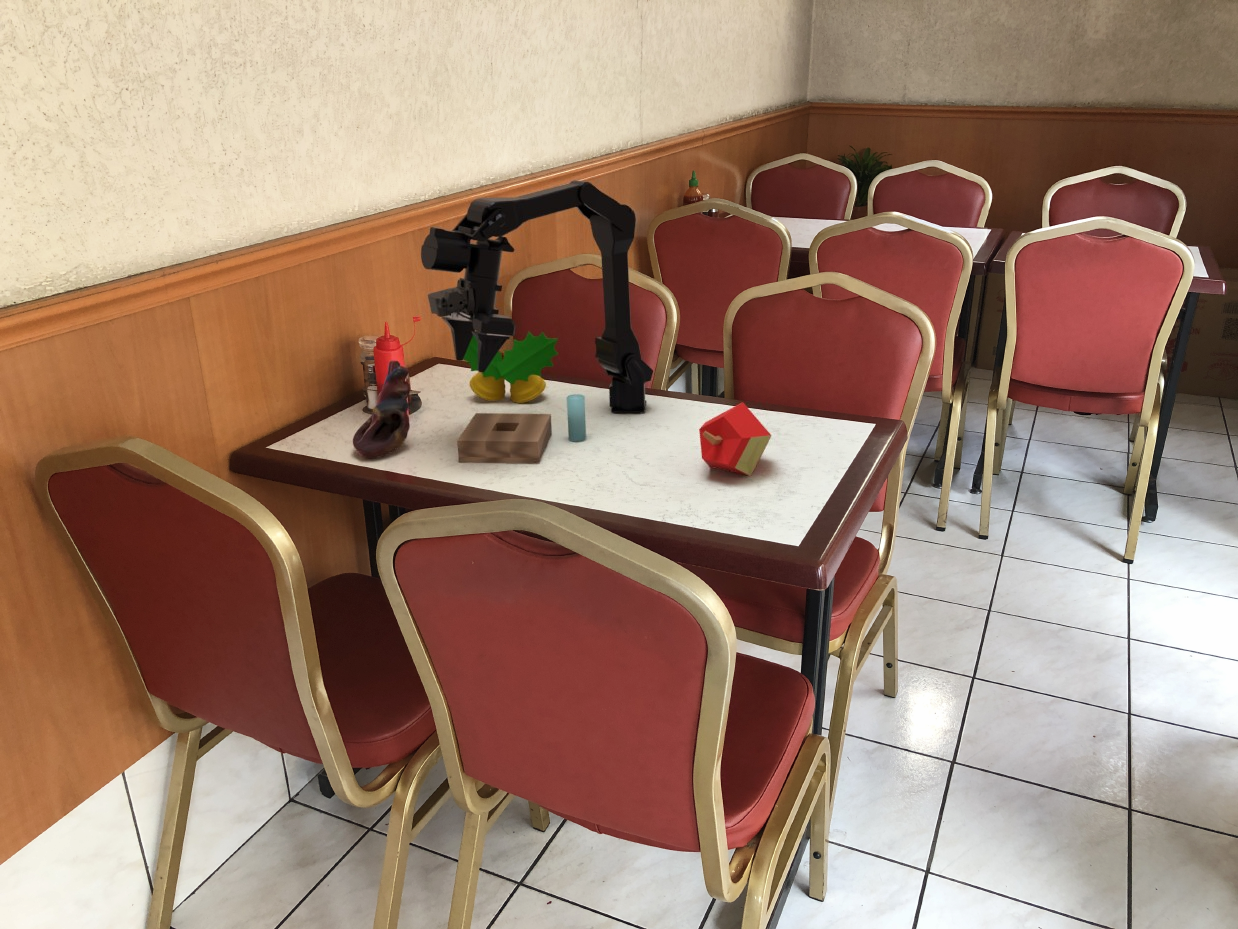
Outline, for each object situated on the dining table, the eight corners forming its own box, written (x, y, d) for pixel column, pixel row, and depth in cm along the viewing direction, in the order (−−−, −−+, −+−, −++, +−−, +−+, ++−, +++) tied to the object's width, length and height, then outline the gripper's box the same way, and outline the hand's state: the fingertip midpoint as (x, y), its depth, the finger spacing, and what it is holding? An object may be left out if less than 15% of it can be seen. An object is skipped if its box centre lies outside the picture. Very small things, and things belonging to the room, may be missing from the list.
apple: (781, 477, 163) (744, 479, 150) (716, 468, 169) (676, 468, 156) (790, 407, 162) (753, 402, 149) (724, 400, 168) (684, 395, 156)
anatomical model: (340, 452, 173) (329, 371, 167) (399, 432, 181) (390, 355, 175) (370, 465, 167) (359, 381, 161) (429, 444, 175) (421, 364, 169)
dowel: (587, 435, 177) (585, 394, 174) (584, 442, 174) (583, 400, 171) (569, 435, 178) (568, 394, 175) (567, 441, 175) (565, 399, 172)
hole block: (551, 434, 178) (550, 413, 177) (538, 463, 166) (537, 441, 164) (477, 433, 180) (475, 413, 178) (458, 462, 167) (456, 440, 165)
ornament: (567, 393, 201) (564, 322, 195) (561, 406, 193) (557, 333, 187) (469, 392, 203) (464, 322, 197) (459, 405, 195) (453, 332, 189)
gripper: (416, 262, 166) (405, 351, 170) (460, 278, 151) (447, 376, 155) (475, 269, 172) (464, 355, 176) (523, 286, 158) (509, 379, 161)
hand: (469, 366), depth 167 cm, fingers open, 9 cm apart
